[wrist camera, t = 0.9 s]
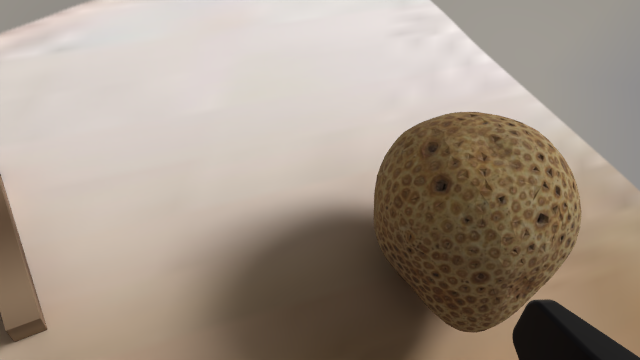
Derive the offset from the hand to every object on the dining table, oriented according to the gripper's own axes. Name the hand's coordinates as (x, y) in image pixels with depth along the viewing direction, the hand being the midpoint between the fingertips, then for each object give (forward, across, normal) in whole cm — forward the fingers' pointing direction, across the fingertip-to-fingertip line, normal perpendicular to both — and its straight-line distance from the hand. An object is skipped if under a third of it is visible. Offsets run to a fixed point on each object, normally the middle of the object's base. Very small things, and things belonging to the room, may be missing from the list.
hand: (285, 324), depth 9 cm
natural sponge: (+14, -11, +11) cm, 21 cm away
